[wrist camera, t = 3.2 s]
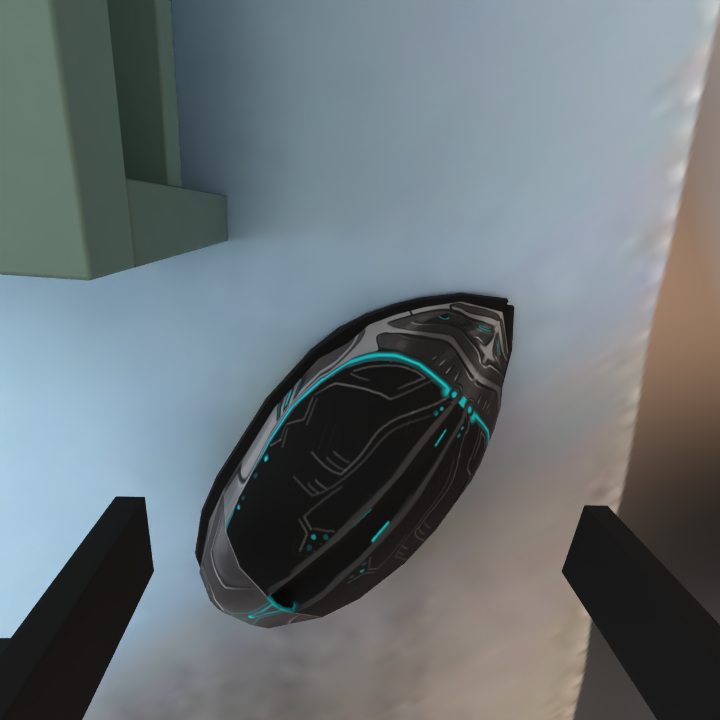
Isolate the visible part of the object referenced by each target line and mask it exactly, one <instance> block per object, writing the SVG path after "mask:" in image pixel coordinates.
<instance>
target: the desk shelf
mask: <svg viewBox="0 0 720 720" xmlns="http://www.w3.org/2000/svg"><path fill="white" fill-rule="evenodd" d="M227 240H228V235H227V198H226V196H223V195H218V194H212V193H206V192H201V191H195V190H189V189H184V188H182V175H181V158H180V142H179V125H178V109H177V92H176V76H175V59H174V43H173V26H172V10H171V0H0V274H2V275H17V276H32V277H46V278H61V279H76V280H92V279H96V278H99V277H103V276H106V275H110V274H113V273H117V272H120V271H124V270H127V269H130V268H133V267H138V266H141V265H145V264H148V263H152V262H155V261H159V260H162V259H166V258H169V257H172V256H176V255H179V254H183V253H186V252H190V251H193V250H197V249H200V248H204V247H207V246H210V245H214V244H217V243H221V242H224V241H227Z"/></svg>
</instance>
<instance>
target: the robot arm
mask: <svg viewBox="0 0 720 720" xmlns="http://www.w3.org/2000/svg"><path fill="white" fill-rule="evenodd" d="M153 572H154V568H153V560H152V552H151V544H150V536H149V528H148V519H147V511H146V503H145V497H115V498H114V500H113V501H112V502H111V504H110V505H109V506H108V508H107V509H106V511H105V512H104V513H103V515H102V516H101V517H100V519H99V520H98V521H97V523H96V524H95V525H94V527H93V528H92V529H91V531H90V532H89V533H88V535H87V536H86V537H85V539H84V540H83V542H82V543H81V544H80V546H79V547H78V548H77V550H76V551H75V552H74V554H73V555H72V556H71V558H70V559H69V560H68V562H67V563H66V564H65V566H64V567H63V569H62V570H61V571H60V573H59V574H58V575H57V577H56V578H55V579H54V581H53V582H52V583H51V585H50V586H49V587H48V589H47V590H46V591H45V593H44V594H43V596H42V597H41V598H40V600H39V601H38V602H37V604H36V605H35V606H34V608H33V609H32V610H31V612H30V613H29V614H28V616H27V617H26V618H25V620H24V621H23V623H22V624H21V625H20V627H19V628H18V629H17V631H16V632H15V633H14V635H13V636H12V637H11V638H0V720H82V719H83V717H84V715H85V713H86V711H87V709H88V707H89V705H90V703H91V700H92V698H93V696H94V694H95V692H96V690H97V688H98V686H99V684H100V682H101V680H102V678H103V676H104V673H105V671H106V669H107V667H108V665H109V663H110V661H111V659H112V657H113V655H114V653H115V651H116V649H117V647H118V644H119V642H120V640H121V638H122V636H123V634H124V632H125V630H126V628H127V626H128V624H129V622H130V620H131V618H132V615H133V613H134V611H135V609H136V607H137V605H138V603H139V601H140V599H141V597H142V595H143V593H144V591H145V589H146V586H147V584H148V582H149V580H150V578H151V576H152V574H153ZM562 573H563V575H564V576H565V578H566V579H567V581H568V582H569V584H570V585H571V587H572V589H573V590H574V592H575V593H576V595H577V596H578V598H579V599H580V601H581V603H582V604H583V606H584V607H585V609H586V610H587V612H588V613H589V615H590V616H591V618H592V620H593V621H594V622H595V624H596V626H597V627H598V629H599V630H600V632H601V633H602V635H603V637H604V638H605V640H606V641H607V643H608V644H609V646H610V647H611V649H612V650H613V652H614V654H615V655H616V657H617V658H618V660H619V661H620V663H621V664H622V666H623V668H624V669H625V671H626V672H627V674H628V675H629V677H630V678H631V680H632V682H633V683H634V685H635V686H636V687H637V689H638V691H639V692H640V694H641V695H642V697H643V698H644V700H645V702H646V703H647V705H648V706H649V708H650V709H651V711H652V712H653V714H654V716H655V717H656V719H657V720H720V625H719V624H718V623H717V621H716V620H715V619H714V618H713V617H712V616H711V615H710V614H709V613H708V612H707V611H706V610H705V609H704V608H703V607H702V606H701V605H700V603H699V602H698V601H697V600H696V599H695V598H694V597H693V596H692V595H691V594H690V593H689V592H688V591H687V590H686V589H685V588H684V587H683V586H682V584H680V582H679V581H678V580H677V579H676V578H675V577H674V576H673V575H672V574H671V573H670V572H669V571H668V570H667V569H666V567H665V566H664V565H663V564H662V563H661V562H660V561H659V560H658V559H657V558H656V557H655V556H654V555H653V554H652V553H651V552H650V550H649V549H647V547H646V546H645V545H644V544H643V543H642V542H641V541H640V540H639V539H638V538H637V537H636V536H635V535H634V534H633V532H632V531H631V530H630V529H629V528H628V527H627V526H626V525H625V524H624V523H623V522H622V521H621V520H620V519H619V518H618V517H617V516H616V514H615V513H614V512H613V511H612V510H611V509H610V508H609V507H608V506H589V505H585V506H584V508H583V511H582V514H581V517H580V520H579V523H578V526H577V529H576V532H575V535H574V537H573V540H572V543H571V546H570V549H569V552H568V555H567V558H566V561H565V563H564V566H563V569H562Z"/></svg>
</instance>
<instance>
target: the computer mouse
mask: <svg viewBox="0 0 720 720" xmlns="http://www.w3.org/2000/svg"><path fill="white" fill-rule="evenodd" d="M507 303H508V299H507V298H500V297H491V296H483V295H475V294H466V293H456V294H447V295H439V296H430V297H422V298H417V299H413V300H409V301H405V302H401V303H396V304H393V305H390V306H387V307H384V308H381V309H378V310H375V311H373V312H370V313H367V314H365V315H363V316H361V317H359V318H357V319H355V320H353V321H351V322H349V323H347V324H345V325H343V326H341V327H339V328H337V329H336V330H335V331H334V332H332V333H331V334H330V335H329V336H327V337H326V338H325V339H324V340H322V341H321V342H320V343H319V344H317V345H316V346H315V347H313V348H312V349H311V350H310V351H309V352H308V353H307V354H306V355H305V357H304V358H303V359H302V360H301V361H300V362H299V363H298V364H297V365H296V366H295V367H294V369H293V370H292V371H291V372H290V373H289V374H288V375H287V376H286V377H285V378H284V379H283V381H282V382H281V383H280V384H279V385H278V386H277V387H276V388H275V389H274V390H273V391H272V393H271V394H270V395H269V396H268V397H267V398H266V400H265V401H264V403H263V404H262V406H261V407H260V409H259V411H258V412H257V414H256V415H255V417H254V418H253V420H252V421H251V423H250V425H249V426H248V428H247V429H246V431H245V432H244V434H243V436H242V437H241V439H240V440H239V442H238V443H237V445H236V447H235V448H234V450H233V451H232V453H231V454H230V456H229V458H228V459H227V461H226V462H225V464H224V465H223V467H222V469H221V470H220V472H219V473H218V475H217V477H216V479H215V481H214V484H213V486H212V488H211V490H210V493H209V495H208V497H207V499H206V502H205V504H204V506H203V508H202V511H201V518H200V524H199V531H198V538H197V544H196V551H195V554H196V558H197V561H198V563H199V566H200V575H201V578H202V580H203V583H204V586H205V588H206V591H207V593H208V596H209V599H210V601H211V602H212V603H213V604H214V605H215V606H216V607H217V608H218V609H219V610H221V611H222V612H224V613H226V614H228V615H231V616H233V617H235V618H237V619H240V620H242V621H244V622H246V623H248V624H251V625H254V626H260V627H265V628H272V627H277V626H282V625H286V624H291V623H296V622H301V621H306V620H310V619H315V618H320V617H323V616H325V615H327V614H329V613H331V612H333V611H335V610H337V609H339V608H341V607H343V606H345V605H347V604H349V603H351V602H354V601H356V600H358V599H359V598H361V597H362V596H363V595H364V594H366V593H367V592H368V591H370V590H371V589H372V588H373V587H375V586H376V585H377V584H378V583H380V582H381V581H382V580H384V579H385V578H386V577H387V576H389V575H390V574H391V573H392V572H394V571H395V570H396V569H398V568H399V567H400V566H401V565H403V564H404V563H405V562H406V561H407V560H408V559H409V558H410V557H411V556H412V555H413V553H414V552H415V551H416V550H417V549H418V548H419V547H420V546H421V545H422V544H423V543H424V542H425V541H426V540H427V538H428V537H429V536H430V535H431V534H432V533H433V532H434V531H435V530H436V528H437V527H438V526H439V524H440V523H441V522H442V520H443V519H444V518H445V516H446V515H447V513H448V512H449V511H450V509H451V508H452V507H453V505H454V504H455V502H456V501H457V500H458V498H459V497H460V496H461V494H462V493H463V491H464V490H465V489H466V487H467V486H468V484H469V483H470V482H471V480H472V478H473V476H474V475H475V473H476V471H477V469H478V467H479V466H480V463H481V461H482V458H483V456H484V453H485V451H486V448H487V446H488V443H489V441H490V438H491V436H492V433H493V431H494V428H495V424H496V421H497V417H498V414H499V411H500V406H501V396H502V386H503V382H504V378H505V374H506V370H507V367H508V363H509V359H510V355H511V351H512V339H513V319H514V306H512V305H507Z"/></svg>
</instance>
